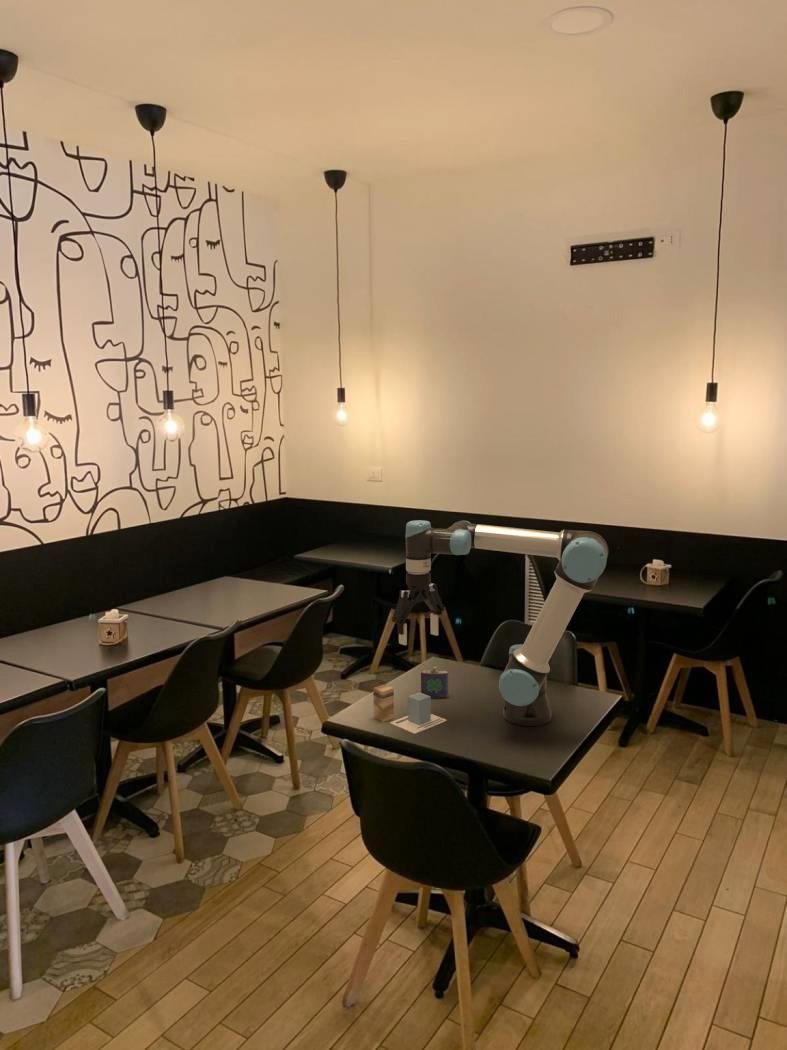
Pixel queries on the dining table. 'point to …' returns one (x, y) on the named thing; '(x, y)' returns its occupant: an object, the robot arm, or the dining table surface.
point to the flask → (434, 683)
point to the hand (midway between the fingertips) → (418, 639)
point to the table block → (383, 703)
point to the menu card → (414, 727)
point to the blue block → (419, 708)
